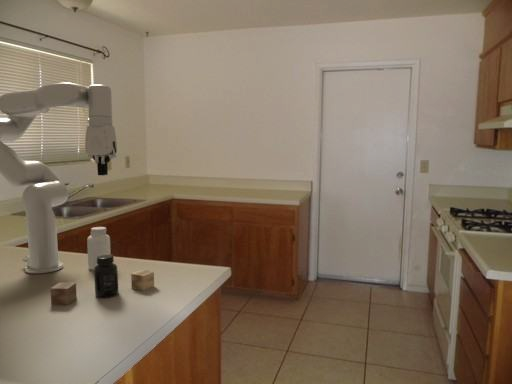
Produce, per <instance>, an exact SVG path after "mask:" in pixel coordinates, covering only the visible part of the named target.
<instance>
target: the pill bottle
mask: <svg viewBox="0 0 512 384" xmlns="http://www.w3.org/2000/svg"><path fill="white" fill-rule="evenodd" d="M86 243H87V244H86V245H87V268H88V269H89V270H91V271H94V268H95V266H97V265H98V264H97V257H98V256H101V255H112V253H111V237H110V235H108V234H107V227H106V226H95V227H91V228H90V235H89V236H88V237H87V242H86Z"/></svg>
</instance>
